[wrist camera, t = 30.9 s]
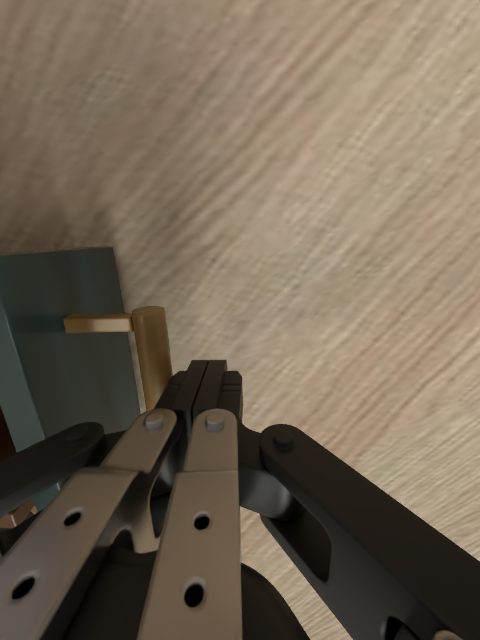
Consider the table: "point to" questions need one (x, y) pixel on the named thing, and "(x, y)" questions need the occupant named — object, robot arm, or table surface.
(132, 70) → the table surface
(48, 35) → the table surface
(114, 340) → the drawer
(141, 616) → the robot arm
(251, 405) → the table surface
